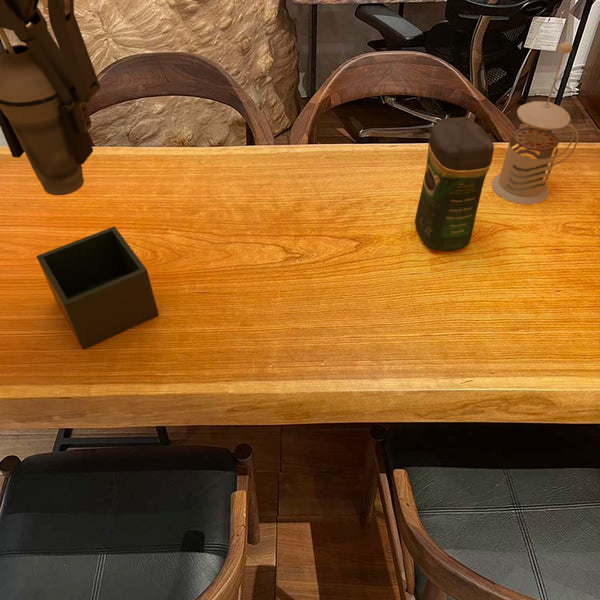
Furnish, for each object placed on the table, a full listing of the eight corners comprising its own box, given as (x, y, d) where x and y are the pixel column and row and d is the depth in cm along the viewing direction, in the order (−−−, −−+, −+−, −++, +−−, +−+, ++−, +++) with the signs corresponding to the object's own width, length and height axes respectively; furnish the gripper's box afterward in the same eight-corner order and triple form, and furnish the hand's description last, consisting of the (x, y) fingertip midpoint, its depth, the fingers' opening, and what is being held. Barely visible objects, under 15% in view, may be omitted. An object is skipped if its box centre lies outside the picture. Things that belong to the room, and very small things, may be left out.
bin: (55, 300, 83) (36, 255, 77) (127, 270, 88) (114, 225, 81) (82, 350, 77) (63, 305, 71) (159, 315, 81) (147, 270, 75)
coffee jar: (476, 251, 90) (506, 145, 77) (426, 257, 89) (448, 150, 76) (454, 213, 97) (479, 109, 84) (408, 218, 96) (425, 113, 83)
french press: (484, 172, 105) (522, 29, 87) (548, 170, 106) (599, 28, 88) (500, 205, 98) (544, 57, 80) (568, 203, 99) (627, 56, 81)
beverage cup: (86, 203, 65) (25, 14, 50) (21, 202, 65) (-59, 14, 50) (103, 166, 70) (52, -15, 55) (42, 165, 70) (-25, -16, 55)
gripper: (98, -98, 49) (150, 144, 66) (-111, -107, 52) (-10, 128, 68) (57, -74, 44) (124, 182, 61) (-173, -85, 47) (-48, 164, 63)
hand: (53, 153), depth 64 cm, fingers closed on beverage cup, 7 cm apart
